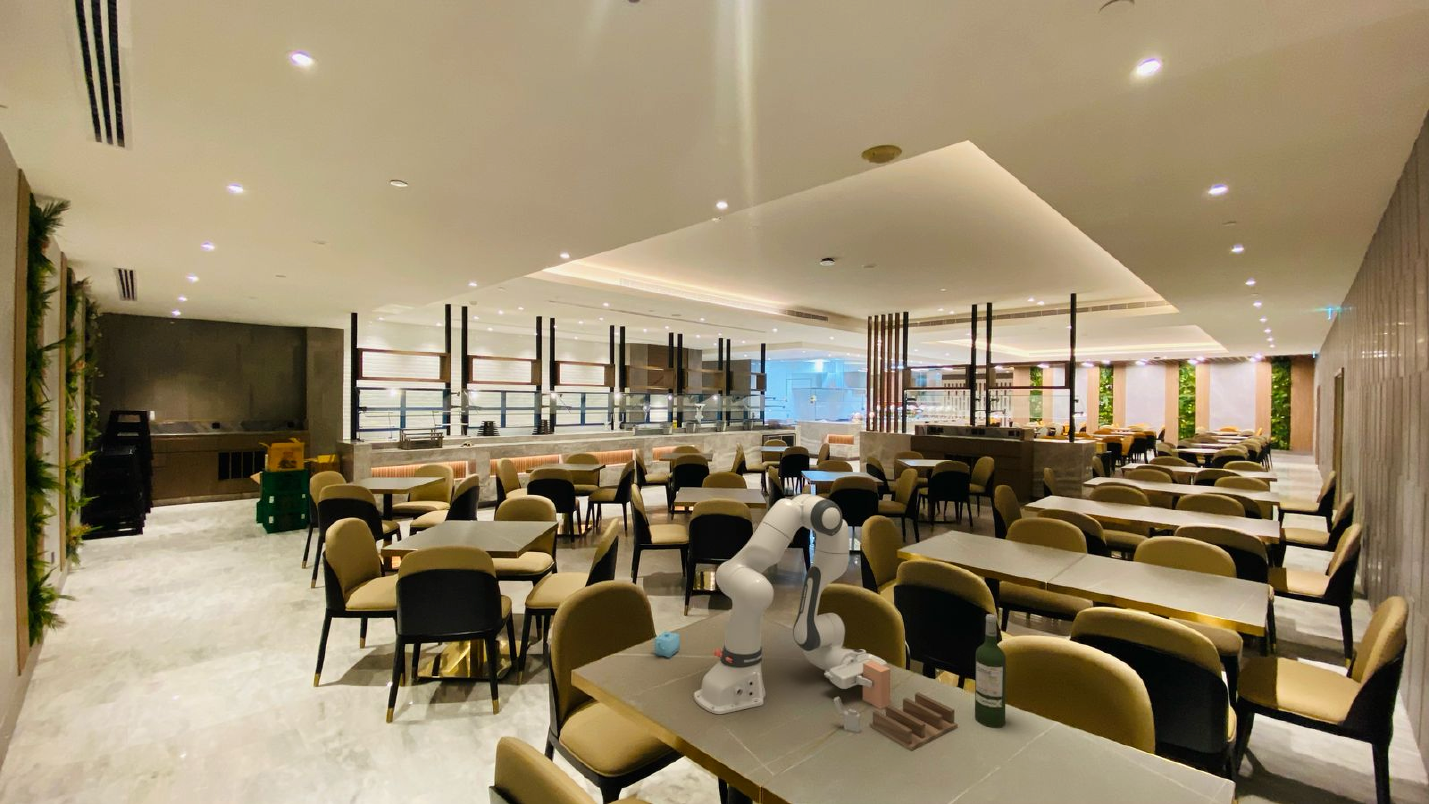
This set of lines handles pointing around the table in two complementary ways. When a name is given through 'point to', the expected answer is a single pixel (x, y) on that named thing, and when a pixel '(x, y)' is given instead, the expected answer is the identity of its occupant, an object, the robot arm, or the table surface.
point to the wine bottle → (990, 679)
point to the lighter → (848, 716)
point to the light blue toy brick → (667, 644)
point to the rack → (915, 721)
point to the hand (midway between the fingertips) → (878, 681)
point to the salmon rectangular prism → (877, 684)
